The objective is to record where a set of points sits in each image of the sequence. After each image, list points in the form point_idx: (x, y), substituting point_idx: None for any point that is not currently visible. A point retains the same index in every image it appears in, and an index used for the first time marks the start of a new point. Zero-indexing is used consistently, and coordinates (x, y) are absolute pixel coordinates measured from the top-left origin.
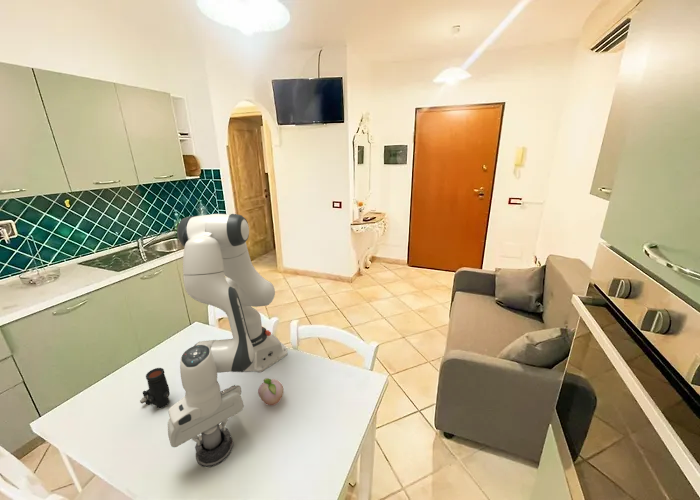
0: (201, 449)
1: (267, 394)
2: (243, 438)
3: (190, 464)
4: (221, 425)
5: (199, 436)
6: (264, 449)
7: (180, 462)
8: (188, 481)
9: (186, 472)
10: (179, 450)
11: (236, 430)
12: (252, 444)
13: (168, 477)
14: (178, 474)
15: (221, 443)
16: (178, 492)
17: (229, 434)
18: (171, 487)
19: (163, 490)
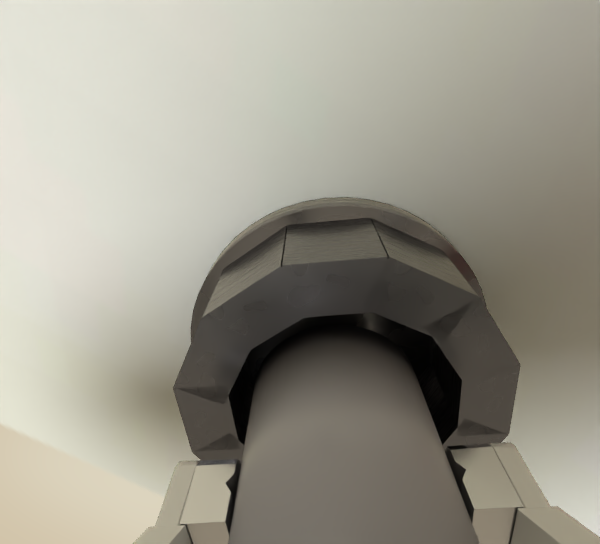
0: (228, 437)
1: None
2: (549, 358)
3: (156, 340)
4: (508, 534)
5: (202, 534)
6: (597, 490)
7: (82, 284)
8: (146, 433)
9: (131, 378)
10: (57, 160)
11: (552, 256)
12: (566, 429)
13: (14, 348)
14: (79, 363)
15: (396, 343)
16: (94, 457)
17: (498, 434)
18: (48, 415)
19: (3, 407)
